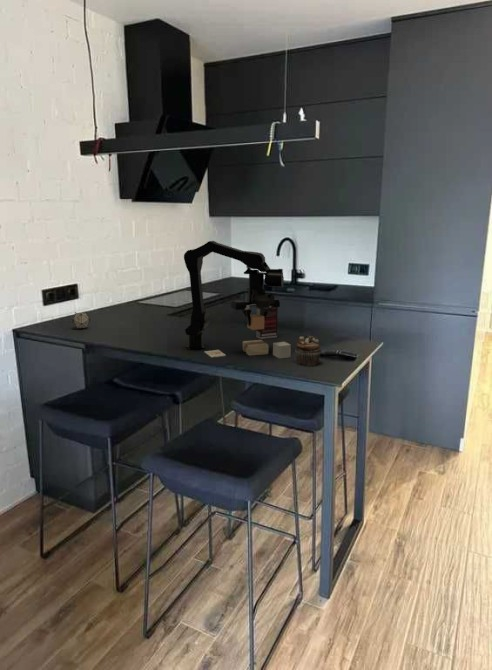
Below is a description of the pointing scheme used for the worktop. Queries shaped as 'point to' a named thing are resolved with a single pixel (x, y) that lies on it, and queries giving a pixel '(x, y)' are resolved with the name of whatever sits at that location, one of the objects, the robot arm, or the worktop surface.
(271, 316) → the supplement box
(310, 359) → the cupcake
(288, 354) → the grey plastic cube
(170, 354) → the worktop surface
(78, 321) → the beige faceted ball
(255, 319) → the terracotta cube
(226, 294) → the worktop surface
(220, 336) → the worktop surface
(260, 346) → the maple base block
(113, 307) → the worktop surface
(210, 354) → the card
